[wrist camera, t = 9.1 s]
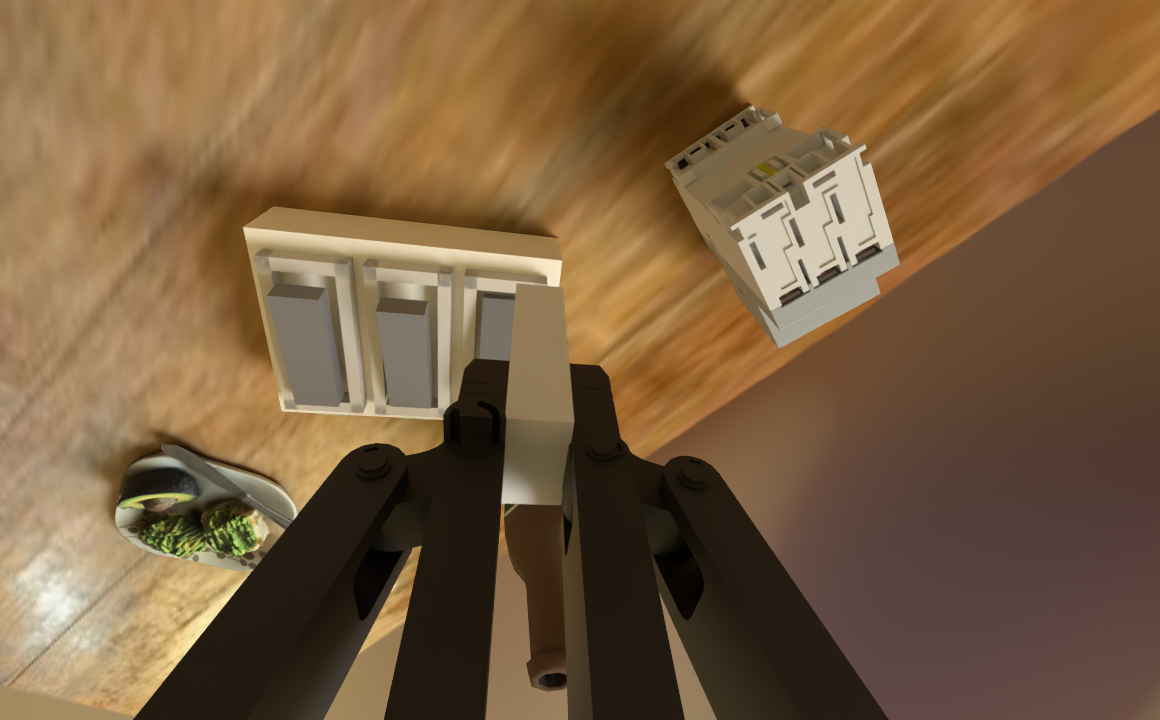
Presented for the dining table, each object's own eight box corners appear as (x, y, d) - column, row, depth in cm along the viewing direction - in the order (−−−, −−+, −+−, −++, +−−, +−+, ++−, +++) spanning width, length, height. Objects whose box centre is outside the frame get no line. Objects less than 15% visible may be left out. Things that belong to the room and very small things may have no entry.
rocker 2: (380, 296, 35) (375, 311, 34) (427, 301, 36) (424, 315, 35) (394, 391, 42) (390, 406, 41) (433, 394, 43) (430, 408, 42)
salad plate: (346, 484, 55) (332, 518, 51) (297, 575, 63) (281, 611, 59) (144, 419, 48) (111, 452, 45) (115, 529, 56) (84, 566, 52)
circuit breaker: (734, 298, 47) (811, 395, 34) (663, 163, 40) (728, 223, 27) (810, 254, 45) (921, 339, 32) (751, 104, 38) (863, 139, 25)
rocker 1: (276, 283, 35) (266, 295, 33) (325, 287, 35) (317, 300, 34) (302, 390, 41) (295, 404, 40) (344, 393, 41) (338, 406, 40)
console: (273, 206, 39) (233, 233, 33) (558, 238, 42) (563, 267, 37) (304, 379, 47) (275, 424, 42) (538, 394, 50) (540, 437, 45)
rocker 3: (484, 293, 38) (483, 297, 37) (526, 297, 39) (526, 301, 37) (476, 413, 41) (475, 422, 40) (516, 415, 42) (516, 424, 40)
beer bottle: (591, 450, 55) (628, 688, 35) (528, 476, 57) (530, 719, 36) (559, 401, 51) (581, 637, 31) (493, 430, 52) (472, 675, 32)
